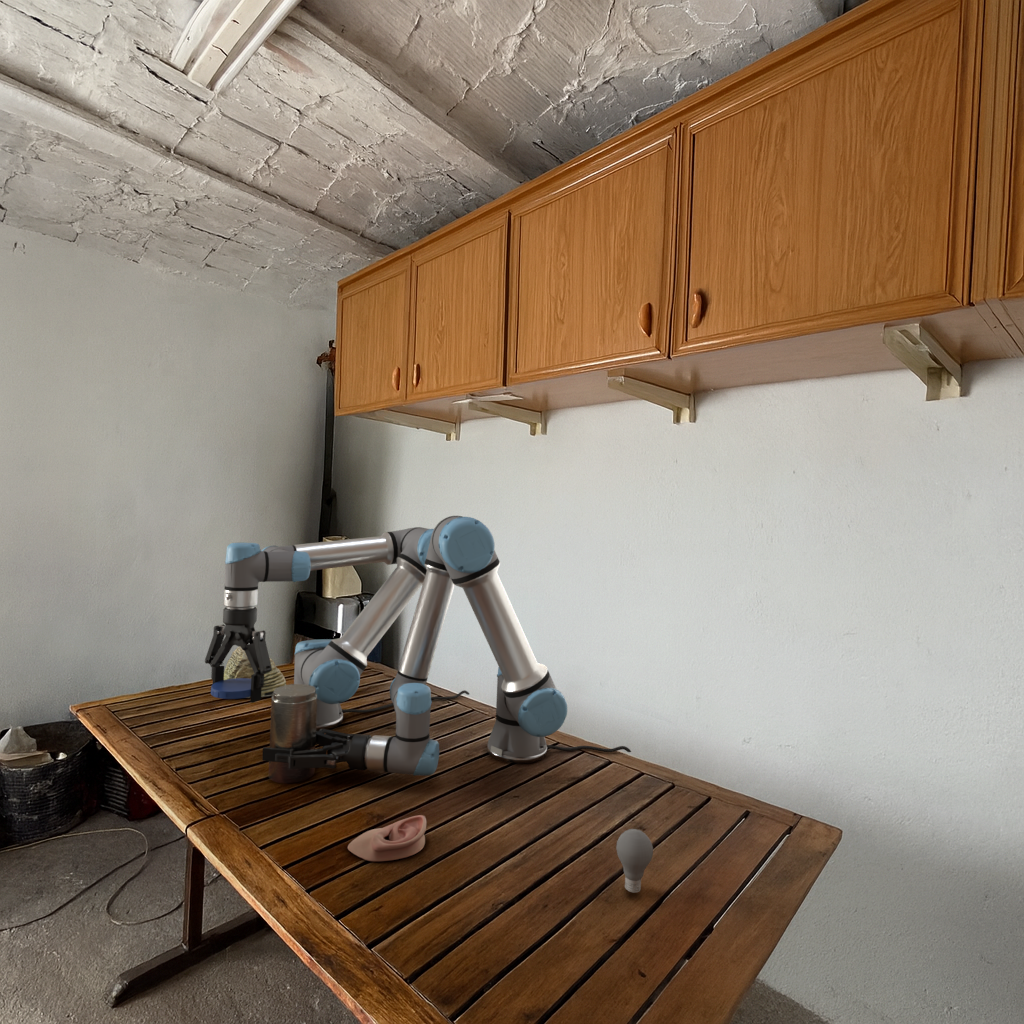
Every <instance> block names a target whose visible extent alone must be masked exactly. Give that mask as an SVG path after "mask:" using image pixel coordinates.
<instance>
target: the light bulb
mask: <svg viewBox="0 0 1024 1024" xmlns="http://www.w3.org/2000/svg"><path fill="white" fill-rule="evenodd" d="M615 849H616V854H617V857H618V859H619V861H620V863H621V865H622V867H623V873H624V874H623V875H624V876H625V878H624V888H625V890H627V891H628V892H630V893H634V894H635V893H639V892H640V891H641V889H642V887H641V886H642V879H643V877H644V875H645V871H646V868H647V867H648V866H649V864H650V863H651V861H652V859H653V855H654V847H653V843H652V841H651V838H649V836H648V835H647V834H646V833H645V832H643V831H642V830H641V829H636V828H629V829H627V830H625V831H623V832H622V833H621V834H620V835H619V837H618V839H617V841H616V847H615Z"/></svg>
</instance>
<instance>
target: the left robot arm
mask: <svg viewBox="0 0 1024 1024" xmlns="http://www.w3.org/2000/svg"><path fill="white" fill-rule="evenodd" d="M433 530H434V528H426V527H421V526H415V527H408V528H405V529H404V528H403V529H399V530H393V531H385V532H382V534H381V535H378V536H369V537H358V538H350V539H340V540H330V541H329V540H328V541H320V542H309V543H300V544H299V543H298V544H293V545H291V544H290V545H281V546H278V545H269V546H265V547H264V548H261V545H260V543H257V542H231V543H229V544H228V545H227V547H226V553H225V561H224V564H225V565H224V589H223V606H224V608H223V609H222V610H223V611H222V624H218V625H214V627H213V635H212V638H211V642H210V643H209V647H208V650H207V653H206V656H205V658H204V663H205V664H208V665H210V667H211V672H210V673H211V674H210V679H211V680H212V685H213V684H214V683H216V682H219V681H222V680H224V672H225V665H224V661H225V659H226V657H228V654H229V653H230V651H231V649H232V648H233V647H234V646H236V647H241V648H242V650H244V651H245V653H246V655H247V658H248V660H249V662H250V664H251V667H252V669H253V671H254V674H253V675H251V696H250V698H249V703H251V704H254V703H256V702H258V701H261V700H262V697H261V689H262V687H263V685H264V674H265V673H267V672H270V671H271V670H272V667H271V663H270V658H271V657H270V655H269V650H268V646H267V642H266V641H267V640H266V633H267V632H266V630H256V629H255V625H256V622H257V619H258V617H257V616H258V608H257V607H256V606H258V599H259V598H258V597H259V583H265V582H266V583H267V582H270V583H271V582H273V583H274V582H282V583H283V582H293V583H295V582H303V581H307V580H308V579H309V577H310V574H311V572H312V571H319V570H328V569H337V568H344V567H345V568H346V567H353V566H361V565H362V566H363V565H369V564H370V565H371V564H379V563H385V564H386V565H387V566H390V565H396V567H395V568H394V569H393V571H392V572H391V574H390V575H389V576H388V578H387V579H386V580H385V581H384V583H382V585H381V586H380V588H379V589H378V590H377V592H376V593H374V595H373V597H371V599H370V600H369V601H368V603H367V604H366V605H365V607H364V608H363V609H362V610H361V611H360V613H359V614H358V615H357V617H356V618H355V619H354V620H353V621H352V623H351V624H350V625H349V627H348V628H347V629H346V630H345V632H344V633H343V634H342V635H341V637H339V638H333V639H331V638H329V639H328V638H326V639H325V638H324V639H307V640H302V641H299V642H297V644H295V650H294V672H293V673H294V674H293V684H306V685H311V686H314V687H315V688H316V694H317V720H316V731H319V730H320V729H327V730H332V729H335V728H337V727H339V726H340V725H342V723H343V722H344V713H355V714H356V713H358V714H365V713H372V712H377V711H381V710H384V709H388V708H392V707H394V705H393V702H392V703H389V704H385V705H381V706H377V707H373V708H366V709H357V708H354V709H353V708H352V709H350V708H349V709H347V708H344V709H343V708H342V706H341V704H342V703H344V702H346V701H348V700H349V699H351V698H352V697H353V696H354V695H356V693H357V691H358V690H359V687H360V682H361V675H362V674H363V672H364V671H365V670H366V668H367V667H368V661H367V660H368V656H369V655H370V653H371V652H372V651H373V650H374V648H375V647H376V646H377V644H378V643H379V642H380V641H381V639H382V638H383V636H384V635H385V634H386V633H387V632H388V630H389V629H390V628H391V626H392V625H393V623H395V621H396V620H397V619H398V618H399V616H400V615H401V613H402V612H403V610H404V609H405V608H406V607H407V606H408V605H409V603H410V602H411V600H412V599H413V598H414V596H415V595H416V594H417V592H418V591H419V590H420V588H422V585H423V582H424V579H425V575H426V572H427V569H426V567H425V565H424V564H425V560H426V557H427V552H428V548H429V544H430V540H431V535H432V533H433ZM258 668H259V669H258ZM463 694H466V695H467V696H468V695H470V692H469V691H467V690H461V691H460V692H458V693H457V694H455V695H451V696H431V701H438V700H439V701H442V700H443V701H444V700H445V701H447V700H448V701H449V700H454V699H457V698H459V697H461V696H462V695H463Z"/></svg>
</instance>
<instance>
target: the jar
mask: <svg viewBox="0 0 1024 1024" xmlns="http://www.w3.org/2000/svg"><path fill="white" fill-rule="evenodd" d="M270 701H271V702H270V725H269V726H270V728H269V748H281V749H292V748H293V752H295V751H304V750H312V749H316V746H317V745H316V720H317V694H316V688H315V687H314V686H311V685H306V684H294V683H291V684H286V685H285V686H281V687H278V688H276V689H275V690H274V692H273V695H272V696H271V700H270ZM315 769H316V768H298V769H290V768H289V763H284V762H272V761H268V779H269V780H271V781H272V782H275V783H279V784H295V783H299V782H304V781H306V780H308V779H310V778H311V777H313V776H314V774H315V771H316V770H315Z"/></svg>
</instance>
